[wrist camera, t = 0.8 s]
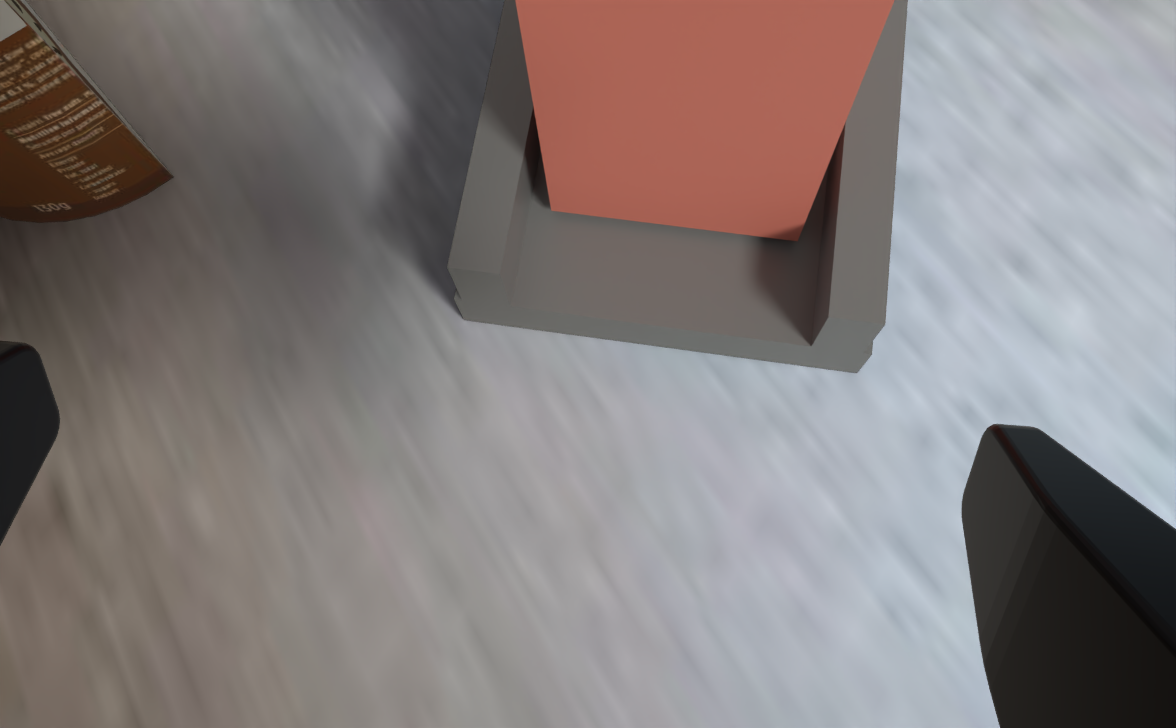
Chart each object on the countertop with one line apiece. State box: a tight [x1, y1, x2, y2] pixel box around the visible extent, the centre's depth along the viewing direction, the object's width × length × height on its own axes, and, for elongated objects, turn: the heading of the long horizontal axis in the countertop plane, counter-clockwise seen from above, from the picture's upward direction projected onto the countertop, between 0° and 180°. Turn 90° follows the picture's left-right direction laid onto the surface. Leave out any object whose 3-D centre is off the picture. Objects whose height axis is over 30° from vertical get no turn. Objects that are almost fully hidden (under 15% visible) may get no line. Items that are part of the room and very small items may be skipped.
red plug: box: [515, 0, 894, 241], centre depth 19 cm, size 5×6×10 cm
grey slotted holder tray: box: [447, 0, 908, 373], centre depth 23 cm, size 16×10×6 cm, turn 171°
